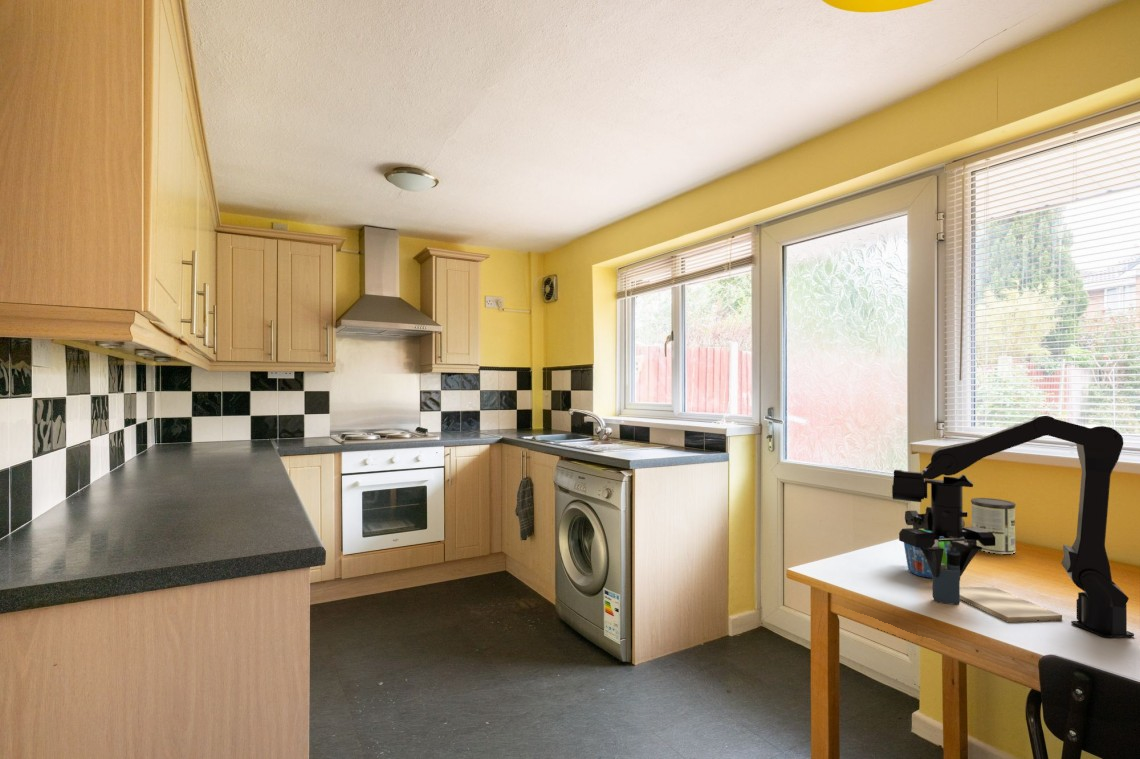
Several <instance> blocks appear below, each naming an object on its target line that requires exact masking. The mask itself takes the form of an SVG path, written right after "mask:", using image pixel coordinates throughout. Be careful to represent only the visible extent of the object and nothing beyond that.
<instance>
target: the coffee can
mask: <svg viewBox="0 0 1140 759" xmlns="http://www.w3.org/2000/svg"><path fill="white" fill-rule="evenodd" d="M970 502H971V527H977V528H980V529H984V530H987V531H990V532H992V533H993V535H994V536H995V546H983V545H982V544H981V543H980V542H979V540H976V542H977V546H980V547H982V550H981V551H980V552H983V551H985V552H984V553H988V552H990V553H989V554H993V553H995V555H1003V554H1011V555H1014V554H1013V553H1015V552H1016V505H1017V504H1016V503H1015V502H1013V501H1009V500H1007V499H1006V500H1004V499H999V498H992V497H974V498H973V497H972V498H971V499H970ZM1015 554H1016V553H1015Z"/></svg>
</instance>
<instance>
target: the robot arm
mask: <svg viewBox="0 0 1140 759" xmlns="http://www.w3.org/2000/svg"><path fill="white" fill-rule="evenodd" d="M1045 436H1046V437H1047V436H1048V437H1053V438H1056V439H1059V440H1063V441H1067V442H1069V443H1073V444H1075V445H1076V451H1077V452H1076V453H1077V456H1078V460H1079V464H1080V467H1081V468H1080V469H1081V477H1080V489H1079V490H1080V491H1079V503H1078V515H1077V525H1076V526H1077V527H1076V537H1075V540H1074V542H1073V544H1072V546H1069V545H1066V544H1063V545H1062V550H1063V558H1062V560H1061V561H1060V564H1061V566H1062V567H1063V568H1064V570H1065V572H1066V574H1067V575H1068V577H1069V578H1070V579H1071V581H1072V582H1073V583H1074V585H1075V586H1076V587H1077V588H1078V589H1080V590H1081V591H1082V592H1077V598H1076V602H1075V603H1076V620H1071V621H1070V622H1071V624H1072V625H1074V626H1077V627H1078V628H1081V629H1083V630H1085V631H1089V632H1091V633H1094V634H1095V635H1098V636H1100V637H1102V638H1107V639H1108V638H1109V639H1110V638H1126V637H1127V638H1128V637H1129V638H1130V637H1131V638H1132V637H1135V633H1134V632H1131V631H1128V629H1127V628H1128V626H1127V622H1128V621H1127V619H1128V618H1127V617H1128V616H1127V615H1128V614H1127V612H1128V611H1127V610H1128V609H1127V607H1128V606H1127V603H1128V601H1129V598H1130V597H1129V596H1128V595H1127V594H1126V593H1125V592H1124V591H1123V590H1122V589H1121V588H1120V587H1119V586H1118V585H1117V584H1116V583H1115V582H1114V581H1113V577H1112V571H1111V565H1110V561H1109V558H1108V554H1107V550H1106V537H1107V536H1106V534H1107V526H1108V525H1107V521H1108V512H1109V511H1108V510H1109V501H1110V500H1109V498H1110V486H1111V475H1112V473H1113V470H1114V468H1116V465H1117V463H1118V462H1119V459H1120V456H1121V452H1122V449H1123V447H1124V437H1123V436H1122V434H1121V433H1120V432H1119V431H1117V429H1114V428H1113V427H1110V426H1105V425H1100V424H1089V425H1084V426H1083V425H1079V424H1075V423H1072V422H1069V421H1065V420H1061V419H1057V418H1054V417H1053V416H1050V415H1046V414H1040V415H1036V416H1034V417H1032V418H1031V419H1029V420H1025V421H1023V422H1020V423H1017V424H1016V425H1012V426H1010V427H1008V428H1005V429H1002V430H1000V431H997V432H994V433H991V434H988V435H986V436H983V437H980V438H977V439H975V440H972V441H967V442H961V443H955V444H950V445H946V446H941V447H938V448H937V449H935V450H934V451H933V452H932V454H931V456H930V463H928V465H927V466H926V467H923V469H922V471H921V472H920V471H907V470H902V469H894V470H893V481H892V485H891V486H892V487H891V489H892V490H891V494H892V495H891V496H892V497H891V498H892V500H896V501H904V502H914V503H915V502H916V503H922V500H925V499H928V484H930V506H927V507H926V508H925V513H919V512H918V511H917V510H906V511H904V521H905V524H906V525H907V526H912V528H911V527H910V528H902V529H900V530H899V532H898V535H899V536H898V541H900V542H902V543H903V544H904V543H907V544H909V545H912V546H914V547H918V548H920V549H921V550H922V551H923V553H924V555H925V557H926V560H927V562H928V565H929V567H930V570H931V572H932V575H933V576H934V577H938V576H939V573H940V568H941V562H942V557H943V551H944V549H943V548H940V547H939V541H950V543H951V545H952V546H953V547H956V551H959V552H960V576H962V575H963V574H964V572H965V570H966V569H967V567H968V565H970V562H972V560H973V559H974V557H975V556H976V555H977V554H978V552H979V550H982V547H980V546H977V542H976V540H979V542H980V543H981V544H982V545H983V546H995V536H994V535H993V533H992V532H990V531H987V530H984V529H980V528H977V527H972V526H964V527H963V519H964V518H968V512H967V511H964V510H963V505H964V503H963V500H964V499H963V492H964V491H963V487H964V488H973V487H974V482H972V481H971V480H970V479H969V478H967V476H966V474H961V475H960V476H959V477H957V476H956V477H955V476H954V475H956V474H958V473H960V472H962V471H964V470H965V469H966V470H967V468H969V467H971V466H972V465H974V464H976V463H977V462H979V461H980V460H982V459H984V458H986V457H989V456H992V455H995V454H998V453H1001V452H1003V451H1006V450H1008V449H1013V448H1014V447H1017V446H1020V445H1023V444H1025V443H1028V442H1030V441H1031V442H1032V441H1034V440H1037V439H1039V438H1042V437H1045ZM942 475H943V479H936V478H939V477H941V476H942ZM920 529H923V530H927V531H931V533H929V532H926V531H923V530H920ZM941 536H942V537H941Z"/></svg>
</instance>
